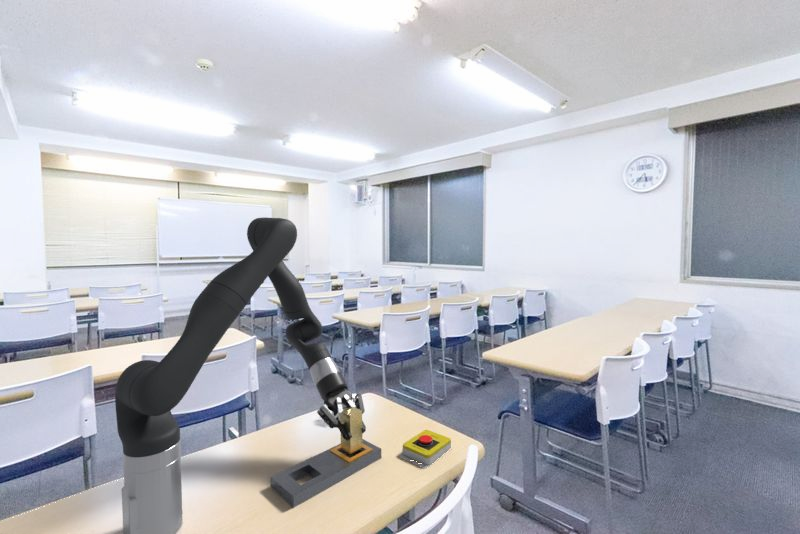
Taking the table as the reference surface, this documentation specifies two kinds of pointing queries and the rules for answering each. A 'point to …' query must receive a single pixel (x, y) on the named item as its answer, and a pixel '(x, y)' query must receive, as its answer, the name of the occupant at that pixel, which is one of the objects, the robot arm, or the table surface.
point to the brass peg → (352, 429)
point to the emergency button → (425, 448)
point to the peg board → (322, 472)
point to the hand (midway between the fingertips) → (356, 435)
